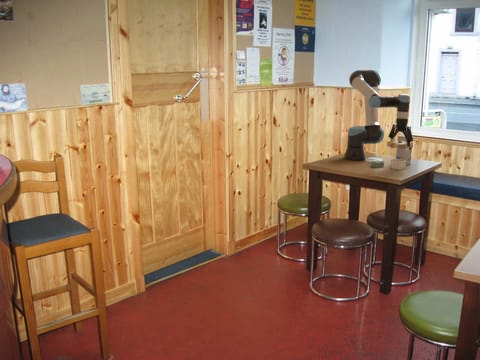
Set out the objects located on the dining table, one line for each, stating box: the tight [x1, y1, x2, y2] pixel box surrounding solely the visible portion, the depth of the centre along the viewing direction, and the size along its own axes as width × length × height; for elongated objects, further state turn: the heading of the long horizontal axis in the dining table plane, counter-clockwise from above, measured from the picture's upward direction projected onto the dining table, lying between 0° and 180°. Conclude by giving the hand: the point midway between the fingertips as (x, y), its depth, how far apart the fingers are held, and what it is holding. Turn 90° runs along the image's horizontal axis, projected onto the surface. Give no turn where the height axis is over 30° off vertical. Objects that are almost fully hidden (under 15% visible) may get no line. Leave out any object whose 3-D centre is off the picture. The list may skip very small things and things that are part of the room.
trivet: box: [370, 159, 385, 169], centre depth 351 cm, size 6×6×4 cm
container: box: [395, 134, 414, 166], centre depth 360 cm, size 10×10×20 cm
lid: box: [386, 140, 414, 149], centre depth 343 cm, size 12×12×4 cm
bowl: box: [389, 158, 407, 171], centre depth 346 cm, size 10×10×6 cm
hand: (399, 149), depth 344 cm, fingers closed on lid, 12 cm apart
